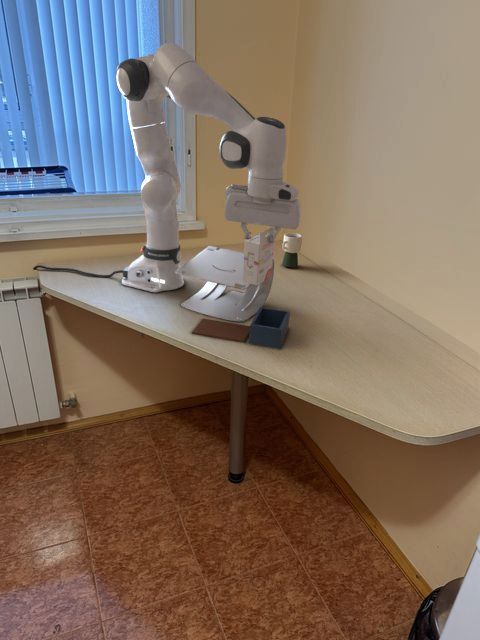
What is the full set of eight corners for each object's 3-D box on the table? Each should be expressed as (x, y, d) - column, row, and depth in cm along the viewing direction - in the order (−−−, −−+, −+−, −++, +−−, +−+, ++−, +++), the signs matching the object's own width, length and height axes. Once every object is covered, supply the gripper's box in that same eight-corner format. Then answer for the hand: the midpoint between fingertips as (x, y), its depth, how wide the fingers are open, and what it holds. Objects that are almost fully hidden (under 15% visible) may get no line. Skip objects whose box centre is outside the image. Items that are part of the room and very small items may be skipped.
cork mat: (191, 333, 144) (191, 332, 143) (202, 319, 152) (202, 318, 152) (244, 342, 140) (244, 340, 140) (252, 327, 148) (252, 326, 148)
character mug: (292, 261, 204) (295, 230, 197) (305, 266, 199) (309, 235, 193) (274, 266, 197) (277, 235, 191) (287, 271, 193) (290, 239, 186)
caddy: (248, 343, 140) (250, 324, 137) (259, 324, 151) (260, 306, 148) (279, 348, 138) (281, 330, 135) (288, 329, 149) (290, 311, 146)
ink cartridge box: (256, 273, 141) (260, 222, 134) (271, 277, 139) (276, 226, 131) (241, 281, 134) (244, 229, 127) (256, 286, 132) (261, 232, 125)
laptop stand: (274, 300, 167) (278, 256, 160) (242, 325, 149) (245, 278, 142) (210, 284, 178) (211, 243, 170) (174, 306, 160) (173, 261, 152)
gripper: (222, 185, 124) (219, 238, 131) (301, 195, 119) (294, 249, 126) (229, 181, 129) (226, 232, 136) (305, 190, 125) (298, 242, 132)
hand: (259, 240), depth 131 cm, fingers closed on ink cartridge box, 5 cm apart
